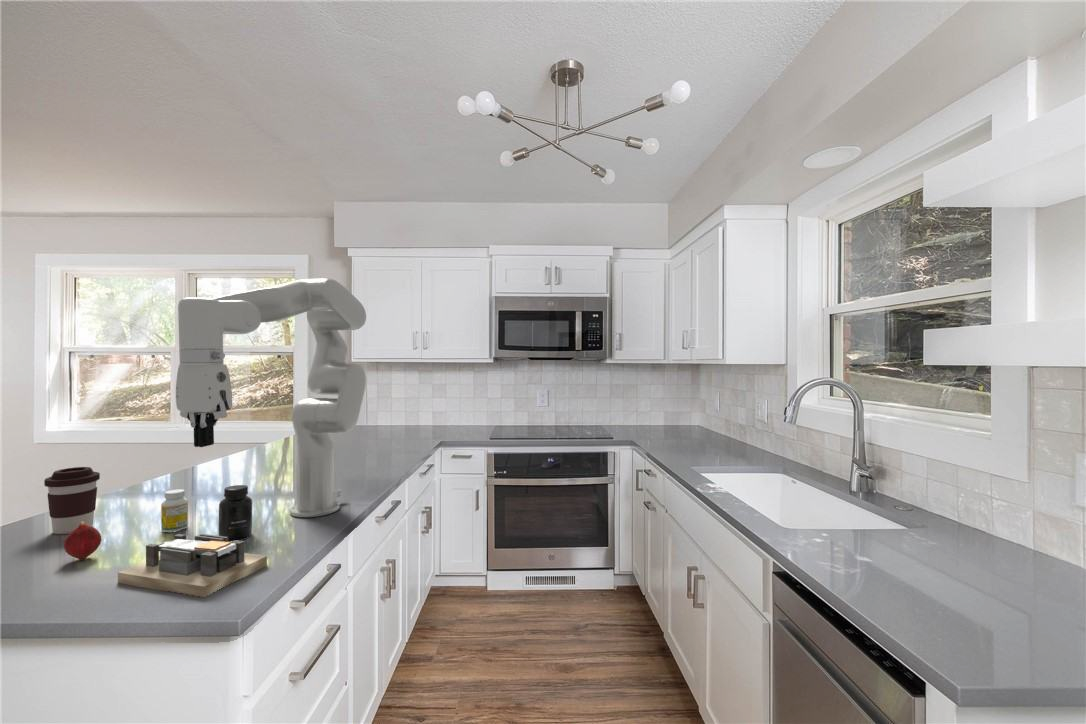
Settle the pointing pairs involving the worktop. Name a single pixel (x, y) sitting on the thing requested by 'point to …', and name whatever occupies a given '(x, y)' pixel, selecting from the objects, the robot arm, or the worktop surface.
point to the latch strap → (201, 546)
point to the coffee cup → (71, 498)
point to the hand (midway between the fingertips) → (204, 445)
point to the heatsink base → (191, 580)
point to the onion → (82, 541)
